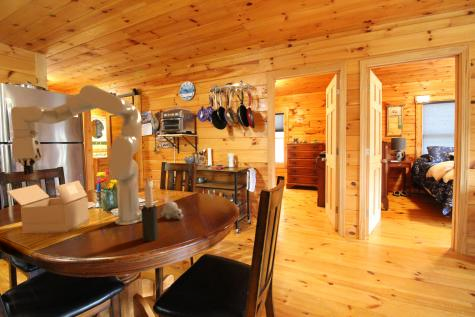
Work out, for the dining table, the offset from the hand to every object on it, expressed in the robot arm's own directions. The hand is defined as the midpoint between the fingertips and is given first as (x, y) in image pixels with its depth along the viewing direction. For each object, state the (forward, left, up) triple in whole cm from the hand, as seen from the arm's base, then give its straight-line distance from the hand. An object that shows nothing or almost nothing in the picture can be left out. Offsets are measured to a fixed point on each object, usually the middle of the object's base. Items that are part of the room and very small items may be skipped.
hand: (28, 173), depth 107 cm
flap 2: (-19, 0, -9) cm, 21 cm away
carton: (-12, 0, -26) cm, 28 cm away
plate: (+2, -31, -26) cm, 41 cm away
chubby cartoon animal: (-64, -7, -26) cm, 69 cm away
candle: (-61, +18, -26) cm, 68 cm away
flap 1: (0, 0, -10) cm, 10 cm away
